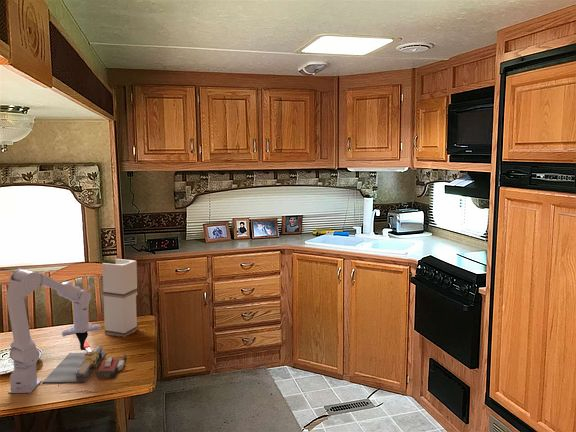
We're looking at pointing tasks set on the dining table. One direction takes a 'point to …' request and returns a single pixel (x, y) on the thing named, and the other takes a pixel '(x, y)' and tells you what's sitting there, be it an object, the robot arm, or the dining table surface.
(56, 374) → the mounting board
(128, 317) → the tall square wastebasket
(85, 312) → the robot arm
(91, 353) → the valve lever
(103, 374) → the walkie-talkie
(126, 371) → the dining table surface
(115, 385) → the dining table surface
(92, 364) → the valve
